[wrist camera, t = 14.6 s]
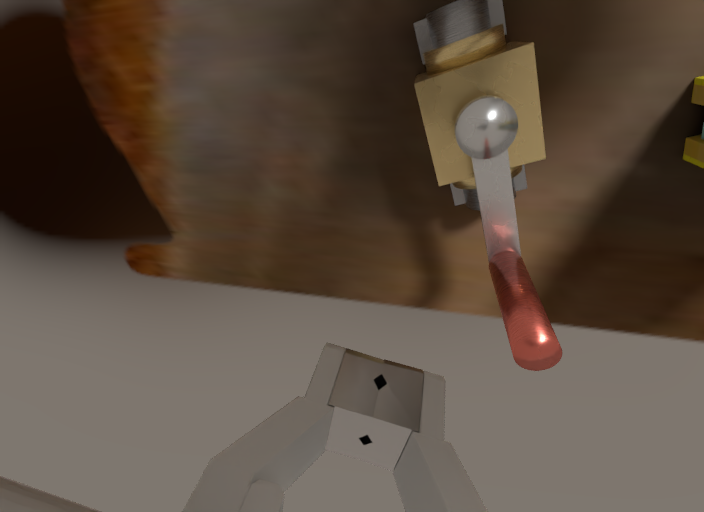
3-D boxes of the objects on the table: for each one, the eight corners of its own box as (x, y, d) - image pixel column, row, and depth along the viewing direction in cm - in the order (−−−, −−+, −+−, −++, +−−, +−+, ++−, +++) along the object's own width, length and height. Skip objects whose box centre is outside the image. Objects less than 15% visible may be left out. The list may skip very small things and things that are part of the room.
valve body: (404, 25, 31) (397, 21, 24) (504, -15, 29) (530, -33, 22) (445, 197, 38) (450, 235, 31) (528, 176, 36) (555, 212, 28)
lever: (449, 105, 26) (463, 144, 16) (510, 87, 25) (563, 117, 15) (480, 275, 32) (503, 373, 23) (531, 267, 31) (577, 367, 21)
